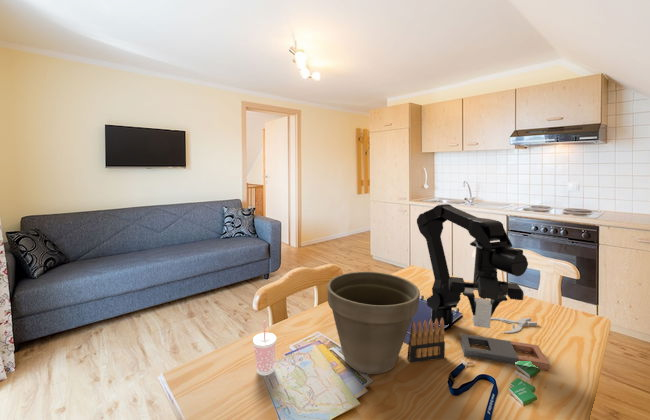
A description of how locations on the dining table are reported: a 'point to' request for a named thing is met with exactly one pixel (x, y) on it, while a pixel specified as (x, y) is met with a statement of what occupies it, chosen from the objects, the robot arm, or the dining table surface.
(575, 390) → the dining table surface
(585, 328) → the dining table surface
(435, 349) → the ammunition clip
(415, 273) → the dining table surface
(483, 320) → the grey metal block
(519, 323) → the pliers
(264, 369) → the beverage cup
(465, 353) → the grey copper slotted plate
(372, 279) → the plant pot
